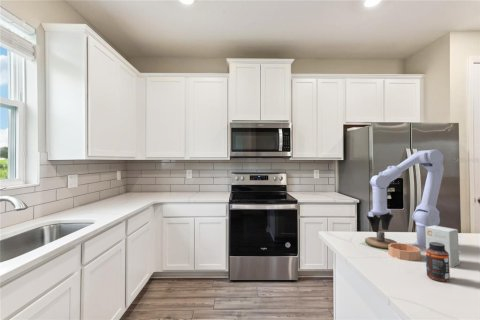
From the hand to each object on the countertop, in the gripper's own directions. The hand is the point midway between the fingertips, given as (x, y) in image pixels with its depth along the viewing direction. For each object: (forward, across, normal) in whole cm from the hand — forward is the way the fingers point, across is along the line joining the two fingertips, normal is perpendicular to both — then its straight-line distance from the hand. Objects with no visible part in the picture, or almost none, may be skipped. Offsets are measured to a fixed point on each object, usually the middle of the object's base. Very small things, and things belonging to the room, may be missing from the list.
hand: (380, 230), depth 114 cm
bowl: (+7, +5, +13) cm, 15 cm away
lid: (+7, 0, 0) cm, 7 cm away
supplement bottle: (+7, +16, +28) cm, 33 cm away
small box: (+7, -1, +23) cm, 24 cm away
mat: (+7, 0, 0) cm, 7 cm away
